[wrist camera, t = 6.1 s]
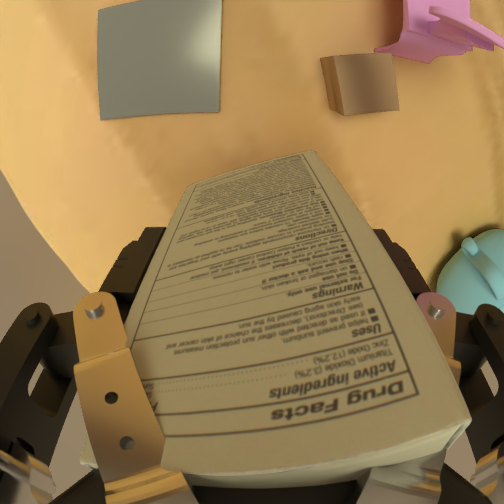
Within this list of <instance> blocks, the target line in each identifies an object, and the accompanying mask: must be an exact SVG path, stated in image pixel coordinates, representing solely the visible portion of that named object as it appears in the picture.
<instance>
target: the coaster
mask: <svg viewBox="0 0 504 504" xmlns="http://www.w3.org/2000/svg"><path fill="white" fill-rule="evenodd" d="M222 4H223V0H140V1H135V2H130V3H125V4H121V5H116V6H112V7H108V8H104V9H100V10H98V34H97V64H98V91H99V106H100V119H101V120H107V119H115V118H124V117H133V116H144V115H156V114H171V113H194V112H220V66H221V30H222Z"/></svg>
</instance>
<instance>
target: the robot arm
mask: <svg viewBox="0 0 504 504" xmlns="http://www.w3.org/2000/svg"><path fill="white" fill-rule="evenodd" d="M165 230H166V227H146V228H145V229H144V231H143V233H142V234H141V236H140V238H139V240H138V241H132V242H131V243H130V244H128V245H127V246H126V247H125V248H123V250H122V251H121V253H120V255H119V256H118V260H116V261H115V263H114V265H113V267H112V268H111V270H110V272H109V273H108V275H107V277H106V279H105V280H104V282H103V284H102V286H101V288H100V289H99V291H98V292H94V293H91V294H89V295H87V296H85V297H83V298H82V299H81V300H79V302H78V303H77V304H76V306H75V307H74V310H73V311H71V312H66V313H60V314H55V315H54V314H53V312H52V311H51V309H50V307H49V306H48V305H47V304H45V303H34V304H31V305H30V306H28V307H26V308H25V309H24V310H22V312H21V313H20V314H19V315H18V317H17V318H16V320H15V321H14V323H13V324H12V326H11V327H10V329H9V330H8V332H7V333H6V335H5V336H4V338H3V340H2V341H1V343H0V504H504V313H503V312H502V311H501V310H500V309H499V308H497V307H496V306H494V305H491V304H486V303H485V304H481V305H479V306H478V307H477V309H476V311H475V313H474V315H471V314H466V313H460V312H456V310H455V307H454V305H453V304H452V303H451V302H450V301H449V300H448V299H447V298H446V297H444V296H442V295H440V294H438V293H434V292H431V291H430V289H429V287H428V285H427V284H426V282H425V281H424V279H423V277H422V276H421V274H420V272H419V271H418V269H416V266H415V264H414V263H413V261H411V258H410V257H409V255H408V253H407V252H406V251H405V250H404V249H403V248H402V247H401V246H399V245H398V244H397V243H392V241H391V240H390V238H389V237H388V235H387V233H386V232H385V231H384V230H383V229H372V230H373V231H374V233H375V234H376V236H377V237H378V239H379V241H380V242H381V244H382V245H383V247H384V248H385V250H386V252H387V253H388V255H389V256H390V258H391V260H392V261H393V263H394V265H395V266H396V268H397V269H398V271H399V273H400V274H401V276H402V278H403V280H404V281H405V283H406V285H407V287H408V288H409V290H410V292H411V294H412V295H413V297H414V299H415V301H416V302H417V304H418V306H419V308H420V310H421V311H422V313H423V315H424V317H425V319H426V321H427V322H428V324H429V326H430V328H431V330H432V332H433V334H434V336H435V338H436V340H437V342H438V344H439V346H440V348H441V350H442V352H443V354H444V356H445V358H446V361H447V363H448V365H449V367H450V369H451V371H452V373H453V376H454V378H455V380H456V382H457V384H458V387H459V389H460V391H461V393H462V396H463V398H464V400H465V403H466V405H467V407H468V410H469V413H470V415H471V418H472V421H471V423H470V425H469V426H468V427H467V428H466V429H465V431H466V433H467V437H468V439H469V442H470V445H471V448H472V451H473V454H474V457H475V460H476V464H477V465H476V469H475V473H474V474H473V475H472V476H471V478H470V482H468V481H467V480H466V479H464V478H463V477H462V476H461V475H459V474H458V473H457V472H455V471H454V470H453V469H452V468H450V467H449V466H448V465H447V464H445V463H444V459H445V455H446V451H447V447H448V443H449V442H447V443H446V445H445V446H444V447H443V449H442V450H440V451H438V452H436V453H432V454H429V455H426V456H423V457H420V458H416V459H413V460H409V461H405V462H402V463H397V464H393V465H387V466H378V467H372V468H370V469H369V470H368V471H367V472H365V473H364V474H363V475H362V476H360V477H359V478H358V479H357V480H351V481H345V482H339V483H332V484H325V485H316V486H305V487H290V488H222V487H208V486H196V485H192V484H191V483H190V481H189V480H188V479H187V478H186V476H185V475H184V474H183V473H182V472H181V470H180V471H166V470H163V469H162V468H161V460H162V455H163V450H164V446H165V441H166V439H165V436H164V434H163V432H162V430H161V427H160V425H159V423H158V420H157V418H156V416H155V413H154V411H153V408H152V406H151V403H150V401H149V398H148V396H147V393H146V391H145V388H144V385H143V383H142V380H141V377H140V374H139V372H138V369H137V366H136V363H135V360H134V357H133V354H132V351H131V348H130V347H129V346H127V347H125V344H126V341H127V339H128V338H127V335H126V332H125V328H124V323H125V321H126V319H127V316H128V314H129V311H130V309H131V306H132V304H133V301H134V299H135V297H136V295H137V292H138V290H139V287H140V285H141V283H142V281H143V278H144V276H145V274H146V272H147V269H148V267H149V265H150V262H151V260H152V258H153V256H154V254H155V251H156V249H157V247H158V245H159V243H160V241H161V239H162V237H163V235H164V232H165ZM487 360H488V362H489V364H490V366H491V368H492V370H493V372H494V374H495V376H496V378H497V380H498V384H499V388H498V392H497V394H496V396H495V397H494V395H493V393H492V391H491V389H490V387H489V385H488V383H487V381H486V379H485V377H484V375H483V373H482V371H481V369H480V368H481V367H482V366H483V364H484V363H485V362H486V361H487ZM39 362H40V364H41V365H42V366H43V368H44V369H43V371H42V373H41V375H40V377H39V379H38V381H37V383H36V385H35V387H34V389H33V391H32V394H31V396H29V394H28V384H29V381H30V379H31V377H32V375H33V373H34V371H35V369H36V367H37V365H38V364H39ZM77 390H78V395H79V400H80V404H81V409H82V413H83V417H84V421H85V425H86V429H87V433H88V436H89V440H90V443H91V447H92V450H93V453H94V456H95V459H96V463H97V466H98V468H99V469H95V468H94V469H93V470H92V471H91V472H89V473H88V474H87V475H85V476H84V477H83V478H82V479H80V480H79V481H78V482H76V483H75V484H74V485H73V486H71V487H70V488H69V489H67V490H66V491H65V492H63V493H62V494H61V495H59V496H58V497H56V498H55V499H54V500H53V497H52V494H53V493H54V492H55V491H56V485H55V482H54V481H53V479H52V474H51V472H50V470H49V465H50V462H51V459H52V456H53V453H54V450H55V447H56V444H57V441H58V438H59V436H60V433H61V430H62V427H63V425H64V422H65V419H66V417H67V414H68V412H69V409H70V406H71V404H72V401H73V399H74V396H75V394H76V392H77ZM129 441H134V442H135V445H134V447H133V448H132V449H131V450H125V445H126V444H127V443H128V442H129Z"/></svg>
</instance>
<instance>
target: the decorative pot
mask: <svg viewBox="0 0 504 504" xmlns="http://www.w3.org/2000/svg"><path fill="white" fill-rule="evenodd" d="M436 293H438V294H440V295H442V296H444V297H446V298H447V299H448V300H449V301H450V302H451V303H452V304H453V305H454V307H455V310H456V312H460V313H466V314H471V315H474V313H475V311H476V309H477V307H478V306H479V305H481V304H485V303H486V304H491V305H494V306H496V307H497V308H499V309H500V310H501V311H502V312H503V313H504V229H491V230H488V231H485V232H483V233H481V234H479V235H478V236H476V237H474V238H473V239H472V238H471V237H468V238H465V239H464V240H463V242H462V244H461V248H460V249H459V250H458V251H457V252H456V253H455V254H454V256H453V257H452V258H451V259H450V260H449V261H448V262H447V263H446V264H445V266H444V268H443V269H442V271H441V273H440V275H439V277H438V282H437V290H436Z"/></svg>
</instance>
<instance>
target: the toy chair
mask: <svg viewBox="0 0 504 504" xmlns="http://www.w3.org/2000/svg"><path fill="white" fill-rule="evenodd" d="M494 44H495V45H497V46H499V47H501V48H503V49H504V38H503V37H501V36H499V35H498V34H496V33H495V32H493V31H491V30H490V29H488V28H486V27H485V26H483V25H481V24H479V23H477V22H476V21H474V20H472V19H471V15H470V0H403V28H402V31H401V34H400V38H399V40H398V42H396V43H394V44H392V45H388V46H384V47H380V48H375V49H374V52H377V53H392V55H393V56H398V57H402V58H407V59H411V60H415V61H420V62H423V63H427V64H429V63H430V62H431V60H432V59H434V58H436V57H438V56H448V55H462V54H464V53H465V52H466V51H472V46H475V47H479V48H482V49H486V50H490V51H494Z"/></svg>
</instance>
